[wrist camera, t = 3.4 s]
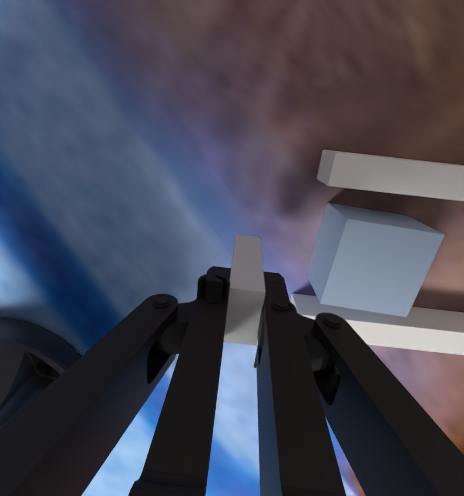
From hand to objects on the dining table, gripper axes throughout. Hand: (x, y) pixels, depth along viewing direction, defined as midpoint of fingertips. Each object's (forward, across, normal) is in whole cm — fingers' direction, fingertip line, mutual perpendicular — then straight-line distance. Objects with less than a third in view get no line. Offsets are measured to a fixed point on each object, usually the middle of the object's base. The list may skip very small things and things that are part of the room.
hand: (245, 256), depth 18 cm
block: (+5, +8, 0) cm, 10 cm away
